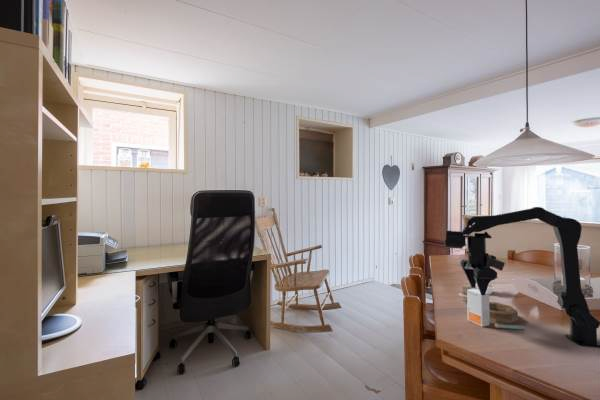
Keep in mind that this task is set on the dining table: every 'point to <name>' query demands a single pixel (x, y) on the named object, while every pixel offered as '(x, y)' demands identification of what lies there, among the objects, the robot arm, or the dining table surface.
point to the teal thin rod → (508, 327)
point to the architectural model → (465, 292)
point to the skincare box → (478, 307)
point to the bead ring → (502, 313)
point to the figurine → (489, 288)
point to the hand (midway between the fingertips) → (478, 291)
